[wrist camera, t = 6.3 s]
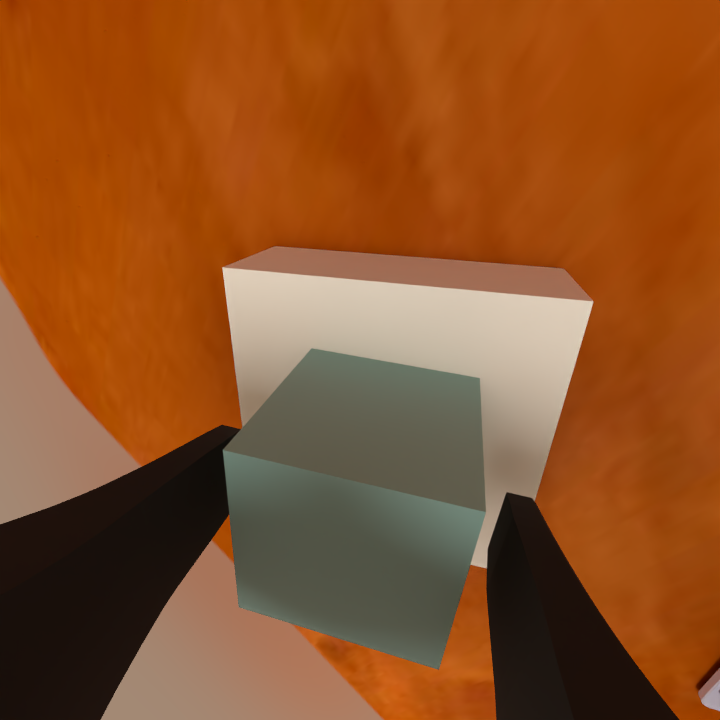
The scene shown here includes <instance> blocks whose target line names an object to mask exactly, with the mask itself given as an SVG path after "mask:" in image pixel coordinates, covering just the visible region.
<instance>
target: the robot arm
mask: <svg viewBox="0 0 720 720" xmlns="http://www.w3.org/2000/svg"><path fill="white" fill-rule="evenodd" d="M240 430H241V429H237V428H233V427H229V426H224V425H221V426H219V427H217V428H215V429H213V430H211V431H209V432H207V433H205V434H203V435H201V436H199V437H197V438H196V439H194V440H192V441H190V442H188V443H186V444H185V445H183V446H181V447H179V448H177V449H175V450H173V451H171V452H169V453H168V454H166V455H164V456H162V457H160V458H158V459H156V460H154V461H152V462H151V463H149V464H147V465H145V466H142V467H140V468H138V469H137V470H134V471H132V472H130V473H128V474H126V475H124V476H122V477H120V478H118V479H116V480H114V481H111V482H109V483H107V484H105V485H103V486H101V487H99V488H96V489H94V490H92V491H89V492H87V493H85V494H82V495H80V496H77V497H75V498H72V499H70V500H67V501H65V502H62V503H60V504H57V505H55V506H52V507H50V508H47V509H44V510H41V511H38V512H35V513H32V514H29V515H27V516H24V517H21V518H18V519H15V520H12V521H9V522H6V523H3V524H0V720H100V719H101V718H102V716H103V714H104V712H105V710H106V708H107V706H108V704H109V702H110V701H111V699H112V697H113V695H114V693H115V691H116V689H117V688H118V686H119V684H120V682H121V680H122V679H123V677H124V675H125V673H126V672H127V670H128V668H129V666H130V664H131V663H132V661H133V659H134V657H135V656H136V654H137V652H138V650H139V648H140V647H141V645H142V643H143V641H144V640H145V638H146V636H147V635H148V633H149V631H150V630H151V628H152V626H153V625H154V623H155V621H156V620H157V618H158V616H159V614H160V612H161V611H162V609H163V608H164V606H165V605H166V603H167V602H168V600H169V599H170V597H171V596H172V594H173V593H174V591H175V590H176V588H177V587H178V585H179V584H180V583H181V581H182V580H183V578H184V577H185V576H186V574H187V573H188V572H189V570H190V569H191V567H192V566H193V565H194V563H195V562H196V560H197V559H198V558H199V556H200V555H201V553H202V552H203V551H204V549H205V548H206V546H207V545H208V544H209V542H210V541H211V539H212V538H213V537H214V535H215V534H216V532H217V531H218V530H219V528H220V527H221V525H222V524H223V522H224V521H225V520H226V518H227V517H228V515H229V505H228V496H227V486H226V476H225V466H224V456H223V449H224V448H225V447H226V446H227V445H228V444H229V442H230V441H231V440H232V439H233V438H234V437H235V436H236V434H237V433H238V432H239V431H240ZM487 603H488V615H489V627H490V639H491V650H492V662H493V674H494V685H495V699H496V719H497V720H679V719H678V717H677V716H676V715H675V714H674V713H673V711H672V710H671V709H670V708H669V706H668V705H667V704H666V703H665V701H664V700H663V699H662V698H661V696H660V695H659V694H658V692H657V691H656V690H655V689H654V687H653V686H652V685H651V683H650V682H649V681H648V679H647V678H646V677H645V675H644V674H643V673H642V671H641V670H640V669H639V667H638V666H637V665H636V663H635V662H634V661H633V659H632V658H631V657H630V655H629V654H628V653H627V651H626V650H625V648H624V647H623V646H622V644H621V643H620V641H619V640H618V638H617V637H616V636H615V634H614V633H613V631H612V630H611V628H610V627H609V625H608V624H607V622H606V621H605V619H604V618H603V616H602V615H601V613H600V612H599V610H598V609H597V607H596V606H595V604H594V603H593V601H592V600H591V598H590V596H589V595H588V593H587V592H586V590H585V589H584V587H583V585H582V584H581V582H580V580H579V579H578V577H577V575H576V574H575V572H574V571H573V569H572V567H571V566H570V564H569V562H568V561H567V559H566V557H565V555H564V554H563V552H562V550H561V549H560V547H559V545H558V543H557V541H556V540H555V538H554V536H553V534H552V532H551V531H550V529H549V527H548V525H547V523H546V521H545V520H544V518H543V516H542V514H541V512H540V510H539V508H538V506H537V505H536V503H535V501H534V500H533V498H530V497H526V496H521V495H517V494H513V493H509V492H506V495H505V498H504V501H503V504H502V507H501V510H500V513H499V516H498V519H497V522H496V525H495V528H494V531H493V534H492V537H491V540H490V543H489V546H488V552H487ZM698 695H699V697H700V699H701V702H702V704H704V705H705V706H706V707H709V708H711V709H715V710H718V711H720V668H719V669H718V670H717V671H716V672H715V674H714V675H713V676H712V677H711V678H710V679H709V680H708V681H707V682H706V684H705V685H704V686H703V687H702V688H701V689H700V690H699V692H698Z"/></svg>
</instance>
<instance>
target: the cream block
mask: <svg viewBox="0 0 720 720" xmlns="http://www.w3.org/2000/svg"><path fill="white" fill-rule="evenodd" d="M222 268H223V276H224V284H225V292H226V300H227V308H228V316H229V323H230V331H231V339H232V347H233V355H234V363H235V371H236V379H237V387H238V395H239V403H240V411H241V419H242V427H243V426H244V425H245V424H246V423H247V422H248V421H249V420H250V418H251V417H252V416H253V415H254V414H255V413H256V411H257V410H258V409H259V408H260V407H261V406H262V405H263V403H264V402H265V401H266V400H267V399H268V398H269V397H270V395H271V394H272V393H273V392H274V391H275V390H276V389H277V387H278V386H279V385H280V384H281V383H282V382H283V381H284V379H285V378H286V377H287V376H288V375H289V374H290V372H291V371H292V370H293V369H294V368H295V367H296V366H297V364H298V363H299V362H300V361H301V360H302V359H303V358H304V356H305V355H306V354H307V353H308V352H309V351H310V350H311V348H313V349H319V350H324V351H330V352H336V353H341V354H347V355H353V356H358V357H364V358H369V359H375V360H381V361H386V362H392V363H398V364H403V365H409V366H415V367H420V368H426V369H431V370H437V371H443V372H448V373H454V374H460V375H465V376H471V377H477V378H480V393H481V415H482V436H483V457H484V479H485V500H486V514H485V517H484V521H483V524H482V527H481V531H480V534H479V537H478V541H477V544H476V547H475V551H474V554H473V557H472V561H471V564H470V565H474V566H479V567H483V568H487V552H488V546H489V543H490V540H491V537H492V534H493V531H494V528H495V525H496V522H497V519H498V516H499V513H500V510H501V507H502V504H503V501H504V498H505V495H506V492H509V493H513V494H517V495H521V496H526V497H530V498H533V500H534V501H535V498H536V495H537V492H538V488H539V485H540V481H541V478H542V475H543V471H544V468H545V464H546V461H547V458H548V454H549V451H550V447H551V444H552V441H553V437H554V434H555V431H556V427H557V424H558V420H559V417H560V414H561V410H562V407H563V403H564V400H565V397H566V393H567V390H568V386H569V383H570V380H571V376H572V373H573V370H574V366H575V363H576V359H577V356H578V353H579V349H580V346H581V342H582V339H583V336H584V332H585V329H586V325H587V322H588V319H589V315H590V312H591V309H592V305H593V302H594V301H593V300H592V299H591V298H590V297H589V296H588V295H587V294H586V293H585V291H584V290H583V289H582V288H581V287H580V286H579V285H578V284H577V283H576V281H575V280H574V279H573V278H572V277H571V276H570V275H569V274H568V273H567V272H566V270H565V269H563V268H551V267H538V266H525V265H512V264H499V263H486V262H473V261H460V260H447V259H434V258H422V257H409V256H396V255H383V254H370V253H357V252H344V251H331V250H318V249H305V248H293V247H280V246H274V247H272V248H269V249H267V250H264V251H262V252H259V253H257V254H254V255H252V256H249V257H247V258H245V259H242V260H240V261H237V262H235V263H232V264H230V265H227V266H225V267H222Z"/></svg>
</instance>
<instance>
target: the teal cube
mask: <svg viewBox="0 0 720 720" xmlns="http://www.w3.org/2000/svg"><path fill="white" fill-rule="evenodd" d="M223 456H224V466H225V476H226V486H227V496H228V505H229V515H230V525H231V535H232V545H233V555H234V565H235V575H236V584H237V594H238V604H239V607H240V608H243V609H246V610H250V611H253V612H256V613H259V614H263V615H266V616H269V617H272V618H275V619H278V620H282V621H285V622H288V623H291V624H294V625H298V626H301V627H304V628H307V629H310V630H314V631H317V632H320V633H323V634H326V635H330V636H333V637H336V638H339V639H342V640H346V641H349V642H352V643H355V644H358V645H362V646H365V647H368V648H371V649H374V650H378V651H381V652H384V653H387V654H390V655H394V656H397V657H400V658H403V659H406V660H410V661H413V662H416V663H419V664H422V665H426V666H429V667H432V668H435V669H438V670H439V667H440V664H441V660H442V657H443V654H444V650H445V647H446V644H447V640H448V637H449V634H450V630H451V627H452V624H453V620H454V617H455V614H456V611H457V607H458V604H459V601H460V597H461V594H462V591H463V587H464V584H465V581H466V577H467V574H468V571H469V567H470V564H471V561H472V557H473V554H474V551H475V547H476V544H477V541H478V537H479V534H480V531H481V527H482V524H483V521H484V517H485V514H486V500H485V479H484V457H483V436H482V415H481V393H480V378H477V377H471V376H465V375H460V374H454V373H448V372H443V371H437V370H431V369H426V368H420V367H415V366H409V365H403V364H398V363H392V362H386V361H381V360H375V359H369V358H364V357H358V356H353V355H347V354H341V353H336V352H330V351H324V350H319V349H313V348H311V350H310V351H309V352H308V353H307V354H306V355H305V356H304V358H303V359H302V360H301V361H300V362H299V363H298V364H297V366H296V367H295V368H294V369H293V370H292V371H291V372H290V374H289V375H288V376H287V377H286V378H285V379H284V381H283V382H282V383H281V384H280V385H279V386H278V387H277V389H276V390H275V391H274V392H273V393H272V394H271V395H270V397H269V398H268V399H267V400H266V401H265V402H264V403H263V405H262V406H261V407H260V408H259V409H258V410H257V411H256V413H255V414H254V415H253V416H252V417H251V418H250V420H249V421H248V422H247V423H246V424H245V425H244V426H243V428H242V429H241V430H240V431H239V432H238V433H237V434H236V436H235V437H234V438H233V439H232V440H231V441H230V442H229V444H228V445H227V446H226V447H225V448H224V449H223Z"/></svg>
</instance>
